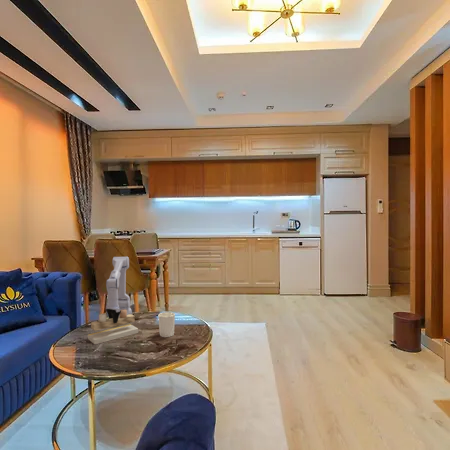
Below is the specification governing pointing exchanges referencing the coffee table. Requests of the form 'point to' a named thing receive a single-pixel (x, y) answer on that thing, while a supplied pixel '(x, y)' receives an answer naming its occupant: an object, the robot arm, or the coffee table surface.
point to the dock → (112, 334)
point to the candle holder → (166, 324)
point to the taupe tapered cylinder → (102, 318)
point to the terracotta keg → (123, 313)
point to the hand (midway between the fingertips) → (113, 321)
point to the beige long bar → (109, 322)
